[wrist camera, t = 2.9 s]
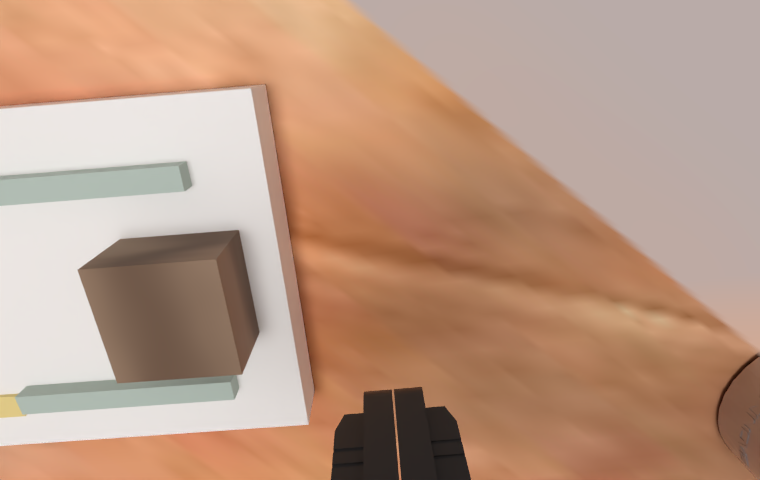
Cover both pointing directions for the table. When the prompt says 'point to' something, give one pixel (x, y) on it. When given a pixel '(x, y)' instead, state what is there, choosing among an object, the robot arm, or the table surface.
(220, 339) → the walnut block
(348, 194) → the table surface
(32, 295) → the board
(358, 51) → the table surface
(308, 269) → the table surface
